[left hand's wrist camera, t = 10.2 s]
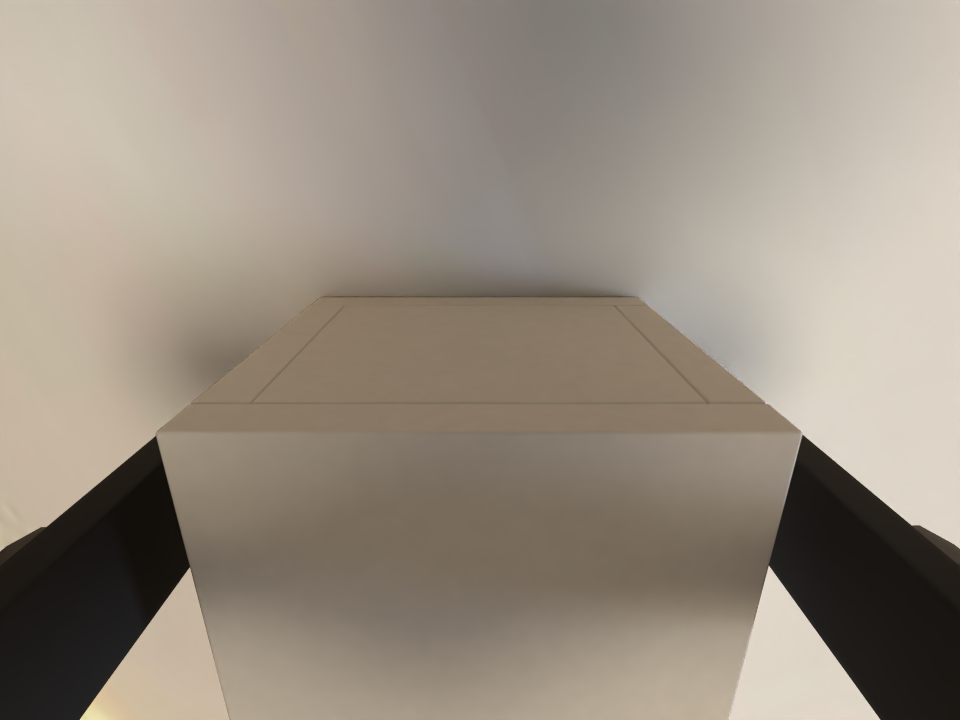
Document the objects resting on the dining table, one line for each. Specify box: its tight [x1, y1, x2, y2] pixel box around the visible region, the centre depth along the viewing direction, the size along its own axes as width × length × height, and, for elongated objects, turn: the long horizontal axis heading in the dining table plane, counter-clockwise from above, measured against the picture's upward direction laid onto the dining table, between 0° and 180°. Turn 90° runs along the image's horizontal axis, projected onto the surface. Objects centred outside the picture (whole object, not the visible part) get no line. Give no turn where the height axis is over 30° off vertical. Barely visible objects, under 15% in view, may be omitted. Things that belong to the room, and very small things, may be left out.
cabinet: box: [156, 297, 802, 720], centre depth 15 cm, size 18×10×9 cm, turn 0°
